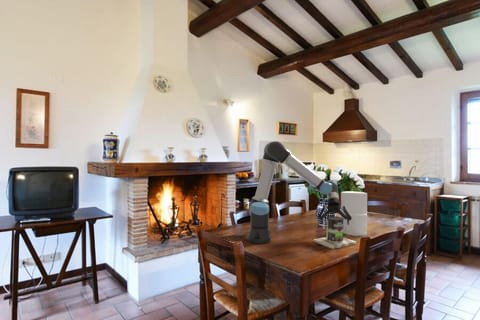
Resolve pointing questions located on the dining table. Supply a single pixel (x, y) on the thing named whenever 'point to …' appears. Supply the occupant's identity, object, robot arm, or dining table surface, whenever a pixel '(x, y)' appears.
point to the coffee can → (334, 229)
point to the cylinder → (355, 212)
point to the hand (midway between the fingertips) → (335, 228)
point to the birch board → (335, 245)
